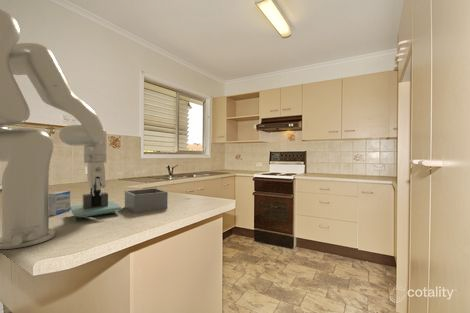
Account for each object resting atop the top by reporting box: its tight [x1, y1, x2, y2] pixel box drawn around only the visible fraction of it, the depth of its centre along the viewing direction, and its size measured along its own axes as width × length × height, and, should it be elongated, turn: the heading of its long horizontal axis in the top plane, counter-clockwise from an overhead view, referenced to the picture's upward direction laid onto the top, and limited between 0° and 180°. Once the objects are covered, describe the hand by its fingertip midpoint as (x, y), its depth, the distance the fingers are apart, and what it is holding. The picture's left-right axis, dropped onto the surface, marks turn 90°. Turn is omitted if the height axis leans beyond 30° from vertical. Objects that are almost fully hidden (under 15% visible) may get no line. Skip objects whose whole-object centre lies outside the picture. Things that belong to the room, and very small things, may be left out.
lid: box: [70, 191, 122, 218], centre depth 87 cm, size 15×15×7 cm
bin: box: [124, 187, 169, 214], centre depth 98 cm, size 14×14×8 cm
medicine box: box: [49, 190, 71, 216], centre depth 91 cm, size 8×4×9 cm, turn 179°
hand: (95, 204), depth 87 cm, fingers closed on lid, 4 cm apart
